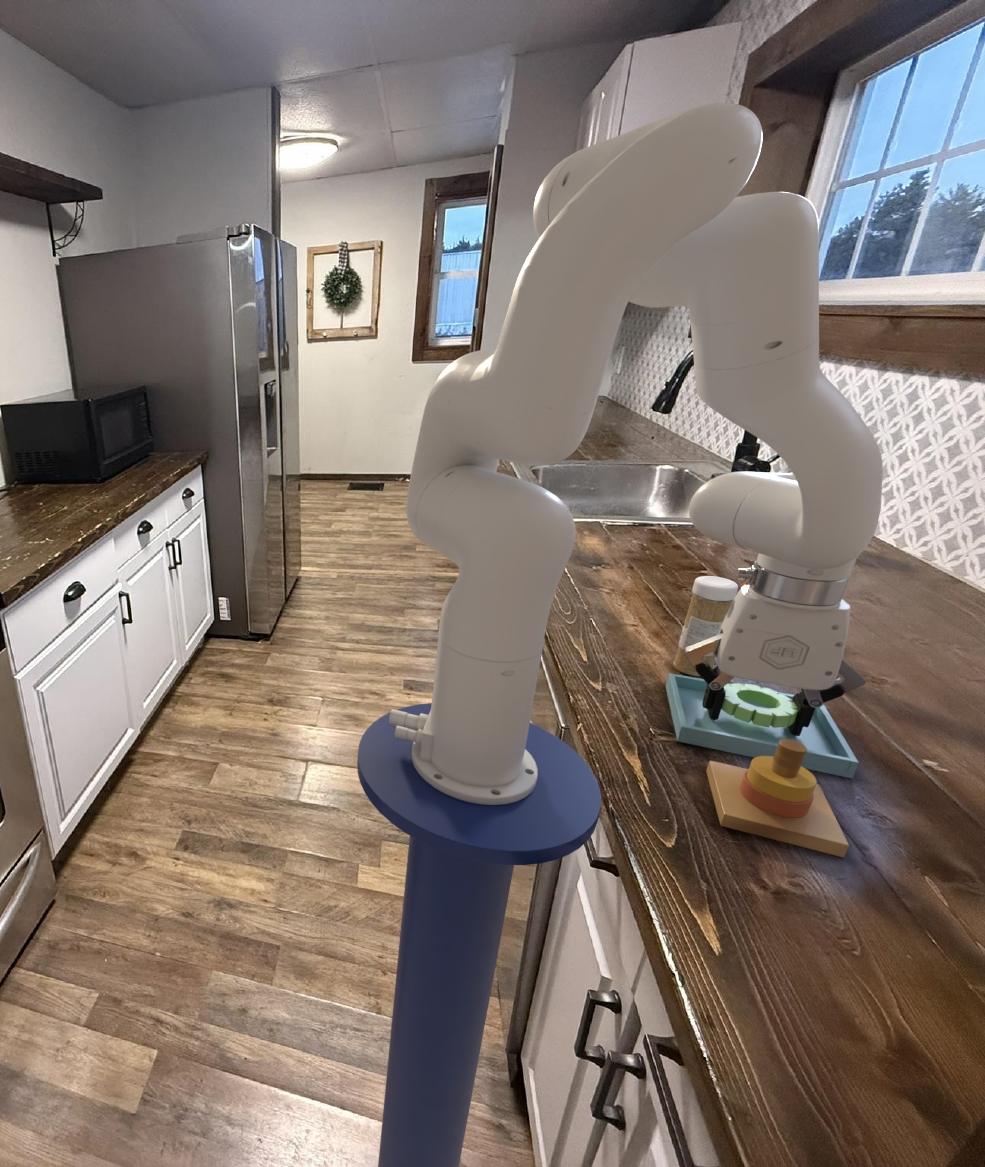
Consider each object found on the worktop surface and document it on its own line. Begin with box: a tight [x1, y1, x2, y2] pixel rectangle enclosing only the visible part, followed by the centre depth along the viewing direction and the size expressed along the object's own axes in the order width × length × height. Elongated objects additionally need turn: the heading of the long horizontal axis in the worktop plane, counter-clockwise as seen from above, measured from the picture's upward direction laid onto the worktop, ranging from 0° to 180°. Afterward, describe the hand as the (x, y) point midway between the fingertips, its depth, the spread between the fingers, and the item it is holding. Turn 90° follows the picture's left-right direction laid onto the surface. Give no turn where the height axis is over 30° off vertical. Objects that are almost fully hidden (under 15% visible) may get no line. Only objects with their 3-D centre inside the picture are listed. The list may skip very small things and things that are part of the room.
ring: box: [721, 682, 798, 728], centre depth 74 cm, size 7×7×2 cm
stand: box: [705, 739, 850, 858], centre depth 61 cm, size 9×9×8 cm
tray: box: [665, 673, 860, 779], centre depth 74 cm, size 15×13×2 cm
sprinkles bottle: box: [672, 575, 739, 678], centre depth 85 cm, size 5×5×14 cm
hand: (751, 720), depth 75 cm, fingers closed on ring, 6 cm apart
